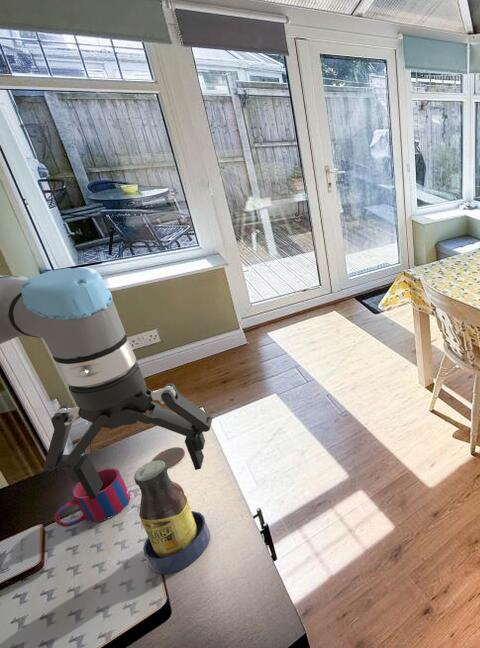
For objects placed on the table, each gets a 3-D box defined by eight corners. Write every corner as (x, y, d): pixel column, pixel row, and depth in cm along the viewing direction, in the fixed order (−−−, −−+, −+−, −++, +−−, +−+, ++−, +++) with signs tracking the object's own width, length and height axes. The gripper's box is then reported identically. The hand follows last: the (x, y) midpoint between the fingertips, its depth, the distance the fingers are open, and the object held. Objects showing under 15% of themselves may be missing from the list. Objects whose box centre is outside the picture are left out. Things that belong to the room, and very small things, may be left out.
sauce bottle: (149, 561, 73) (109, 483, 65) (180, 527, 78) (147, 451, 70) (181, 568, 72) (145, 489, 64) (210, 533, 78) (180, 457, 70)
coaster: (147, 473, 89) (147, 472, 89) (155, 453, 94) (155, 452, 94) (181, 464, 91) (180, 463, 91) (187, 445, 96) (186, 444, 96)
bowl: (143, 583, 70) (136, 569, 68) (158, 536, 77) (151, 522, 76) (205, 561, 73) (199, 547, 72) (214, 518, 81) (208, 504, 79)
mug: (137, 501, 83) (125, 477, 81) (70, 544, 75) (55, 519, 73) (122, 486, 86) (110, 462, 84) (56, 526, 78) (41, 501, 75)
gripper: (-38, 414, 51) (35, 526, 60) (202, 367, 61) (235, 469, 70) (-2, 378, 57) (60, 484, 66) (211, 340, 67) (240, 437, 76)
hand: (150, 477), depth 68 cm, fingers open, 13 cm apart
